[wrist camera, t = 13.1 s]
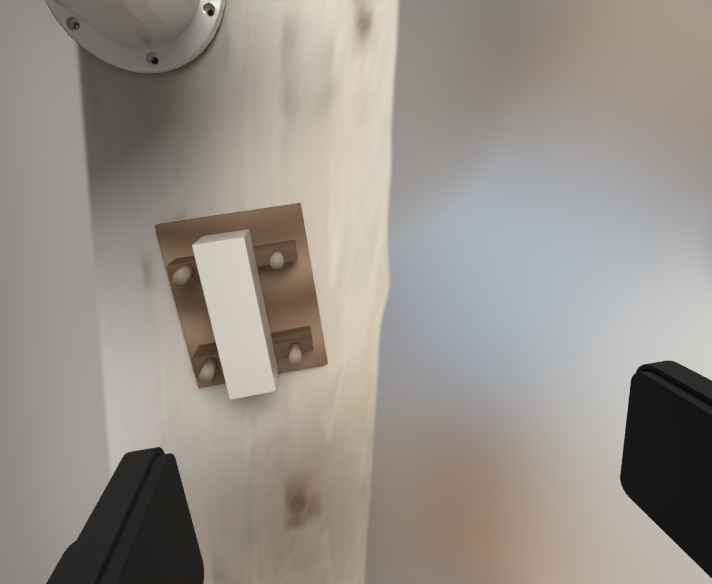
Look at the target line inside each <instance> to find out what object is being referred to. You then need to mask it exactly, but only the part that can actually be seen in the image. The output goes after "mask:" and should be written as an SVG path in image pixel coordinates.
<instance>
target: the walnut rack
mask: <svg viewBox="0 0 712 584" xmlns="http://www.w3.org/2000/svg"><path fill="white" fill-rule="evenodd" d="M155 229H156V233H157V237H158V240H159V244H160V248H161V252H162V255H163V259H164V263H165V266H166V270H167V274H168V277H169V281H170V285H171V288H172V292H173V296H174V299H175V303H176V307H177V310H178V314H179V318H180V321H181V325H182V329H183V332H184V336H185V340H186V344H187V347H188V351H189V355H190V358H191V362H192V366H193V369H194V373H195V377H196V380H197V384H198V388H200V387H206V386H211V385H216V384H222V383H226V381H225V377H224V373H223V369H222V365H221V361H220V357H219V353H218V349H217V345H216V341H215V337H214V333H213V329H212V325H211V321H210V317H209V313H208V308H207V304H206V300H205V296H204V292H203V288H202V284H201V280H200V276H199V272H198V268H197V264H196V260H195V256H194V252H193V248H192V244H194V243H195V242H196V241H198V240H199V239H200V238H202V237H203V236H207V235H214V234H220V233H227V232H234V231H241V230H247V229H249V230H250V235H251V240H252V245H253V249H254V254H255V259H256V264H257V269H258V274H259V279H260V284H261V289H262V294H263V298H264V303H265V308H266V313H267V318H268V323H269V328H270V333H271V338H272V343H273V347H274V352H275V357H276V362H277V367H278V371H277V373H281V372H286V371H292V370H297V369H302V368H308V367H313V366H319V365H324V364H328V363H327V357H326V351H325V345H324V339H323V333H322V327H321V321H320V315H319V310H318V304H317V298H316V292H315V286H314V280H313V274H312V268H311V262H310V256H309V250H308V244H307V238H306V232H305V226H304V221H303V215H302V209H301V203H297V204H290V205H283V206H276V207H270V208H263V209H256V210H249V211H242V212H236V213H229V214H222V215H215V216H209V217H202V218H195V219H188V220H182V221H175V222H168V223H161V224H157V225H155Z"/></svg>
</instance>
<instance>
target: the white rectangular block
mask: <svg viewBox="0 0 712 584" xmlns="http://www.w3.org/2000/svg"><path fill="white" fill-rule="evenodd" d="M192 248H193V252H194V256H195V260H196V264H197V268H198V272H199V276H200V280H201V284H202V288H203V292H204V296H205V300H206V304H207V308H208V313H209V317H210V321H211V325H212V329H213V333H214V337H215V341H216V345H217V349H218V353H219V357H220V361H221V365H222V369H223V373H224V377H225V381H226V386H227V390H228V394H229V398H230V400H231V399H237V398H242V397H247V396H253V395H258V394H263V393H269V392H274V391H276V385H277V371H278V367H277V362H276V357H275V352H274V347H273V343H272V338H271V333H270V328H269V323H268V318H267V313H266V308H265V303H264V298H263V294H262V289H261V284H260V279H259V274H258V269H257V264H256V259H255V254H254V249H253V245H252V240H251V235H250V230H249V229H247V230H241V231H234V232H227V233H220V234H214V235H207V236H203V237H202V238H200V239H199V240H198V241H196V242H195V243H194V244H192Z"/></svg>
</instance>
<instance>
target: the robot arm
mask: <svg viewBox="0 0 712 584" xmlns="http://www.w3.org/2000/svg"><path fill="white" fill-rule="evenodd" d="M45 1H46V3H47V5H48V7H49V8H50V10H51V11H52V13H53V15H54V17H55V19H56V20H57V21H58V22H59V24H60V25H61V26H62V27H63V28H64V30H65V31H66V32H67V33H68V35H69V36H70V37H71V38H73V39H74V40H75V41H76V42H77V43H78V44H79V45H80V46H81V47H83V48H84V49H85V50H87V51H88V52H90V53H91V54H93V55H94V56H96V57H98V58H99V59H101V60H103V61H105V62H107V63H109V64H111V65H113V66H115V67H118V68H121V69H124V70H127V71H131V72H139V73H146V74H147V73H163V72H167V71H170V70H174V69H177V68H180V67H181V66H183V65H185V64H187V63H189V62H191V61H192V60H194V59H195V58H196V57H197V56H198V55H199V54H201V53H202V52H203V51H204V50H205V48H206V47H207V46H208V44H209V43H210V42H211V41H212V39H213V38H214V36H215V34H216V31H217V29H218V27H219V25H220V23H221V19H222V15H223V11H224V7H225V0H45ZM210 10H212V11H214V15H213V16H208V12H209V11H210ZM77 24H80V27H79V29H78V30H76V25H77ZM154 58H158V63H157V64H153V59H154ZM620 475H621V476H620V480H621V484H622V487H623V489H624V491H625V493H626V494H627V495H628V496H629V498H630V499H632V501H634V502H635V503H636V504H637V505H638V506H639V507H640V508H641V509H642V510H643V511H644V512H645V513H646V514H647V515H648V516H649V517H650V518H651V519H652V520H653V521H654V522H655V523H656V524H657V525H658V526H659V527H660V528H661V529H662V530H663V531H664V532H665V533H666V534H667V535H668V536H669V537H670V538H671V539H672V540H673V541H674V542H675V543H676V544H677V545H678V546H679V547H680V548H681V549H682V550H683V551H684V552H686V553H687V554H688V556H690V557H691V558H692V559H693V560H694V561H695V562H696V563H697V564H698V565H699V566H700V567H701V568H702V569H703V570H704V571H705V572H706V573H707V574H708V575H709V576H710V577H711V578H712V381H711V380H709V379H708V378H706V377H703V376H702V375H700V374H698V373H696V372H694V371H692V370H690V369H688V368H686V367H684V366H682V365H680V364H678V363H676V362H674V361H662V362H656V363H651V364H644V365H642V366H640V367H639V368H638V369H637V371H636V374H634V375H633V377H632V379H631V386H630V395H629V403H628V413H627V421H626V431H625V439H624V448H623V457H622V466H621V474H620ZM203 582H204V566H203V560H202V557H201V553H200V549H199V545H198V542H197V538H196V534H195V530H194V527H193V523H192V519H191V515H190V512H189V508H188V504H187V500H186V497H185V493H184V489H183V485H182V482H181V478H180V474H179V470H178V467H177V463H176V459H175V457H174V455H173V454H172V453H169V454H165V453H164V451H163V450H162V448H160V447H157V448H151V449H145V450H139V451H133V452H128V453H126V454H125V455H124V456H123V458H122V460H121V461H120V463H119V465H118V467H117V469H116V470H115V472H114V474H113V476H112V478H111V479H110V481H109V483H108V485H107V487H106V489H105V490H104V492H103V494H102V496H101V497H100V499H99V501H98V503H97V505H96V507H95V508H94V510H93V512H92V514H91V515H90V517H89V519H88V521H87V523H86V524H85V526H84V528H83V530H82V532H81V534H80V535H79V537H78V539H77V541H75V542H74V543H72V544H71V545H70V546H69V547H68V548H67V550H66V551H65V552H64V554H63V555H62V557H61V559H60V561H59V563H58V564H57V566H56V568H55V569H54V571H53V573H52V575H51V576H50V578H49V580H48V582H47V583H46V584H203Z"/></svg>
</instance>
